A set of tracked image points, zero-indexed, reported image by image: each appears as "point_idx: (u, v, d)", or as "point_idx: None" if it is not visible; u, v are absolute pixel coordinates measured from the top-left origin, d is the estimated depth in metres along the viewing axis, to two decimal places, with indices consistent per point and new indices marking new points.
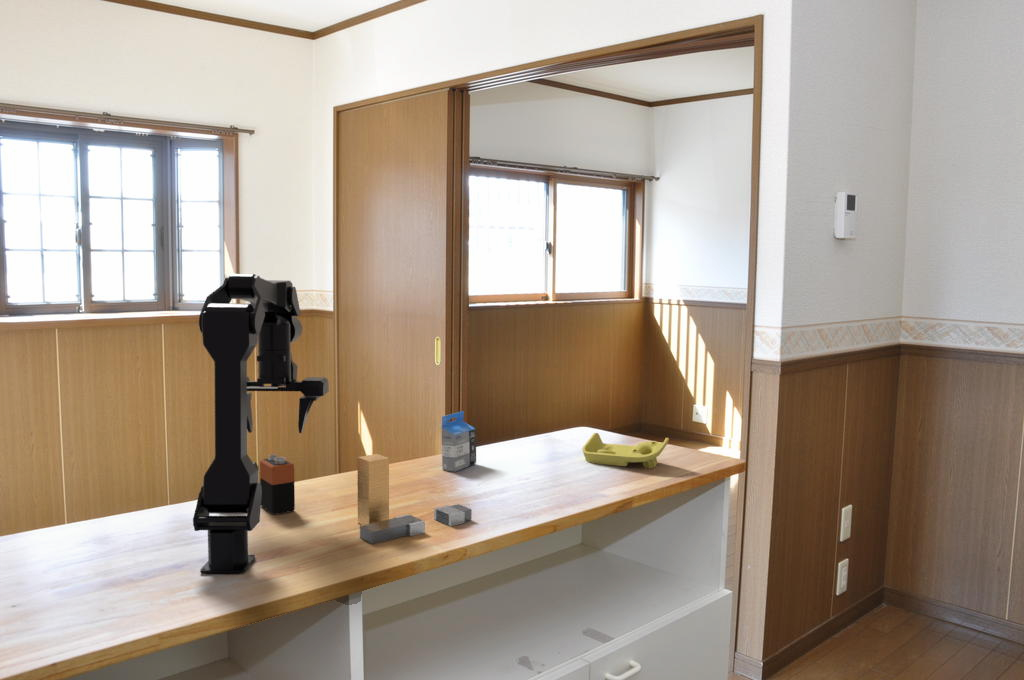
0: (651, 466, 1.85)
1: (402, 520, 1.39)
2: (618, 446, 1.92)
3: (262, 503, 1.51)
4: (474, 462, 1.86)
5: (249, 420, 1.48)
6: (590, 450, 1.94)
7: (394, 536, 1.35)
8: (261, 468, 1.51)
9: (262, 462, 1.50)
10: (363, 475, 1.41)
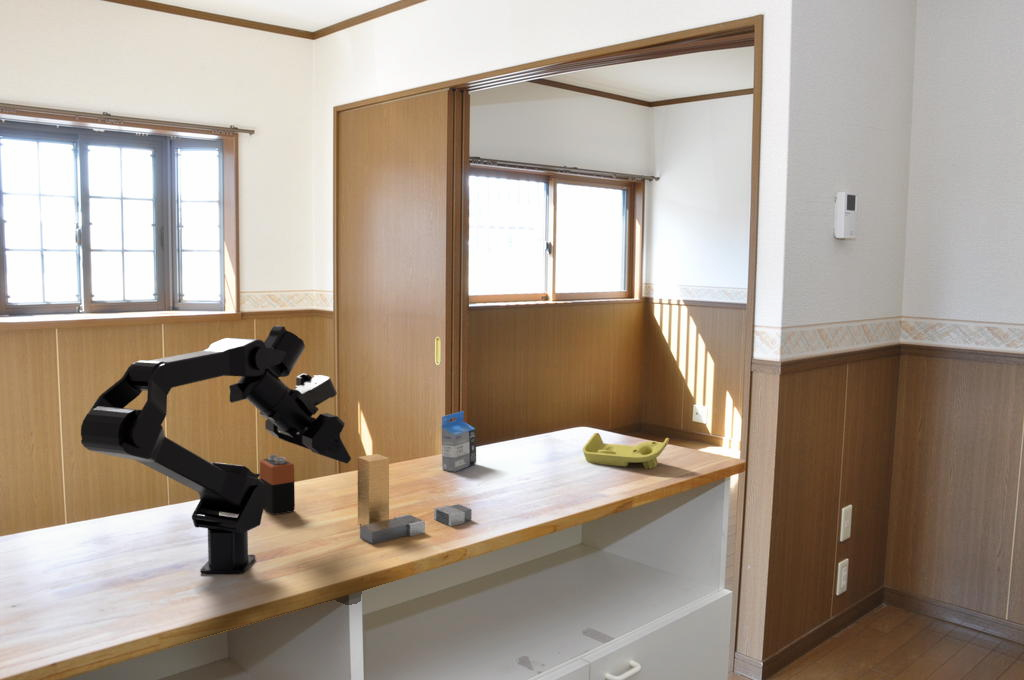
0: (651, 466, 1.85)
1: (402, 520, 1.39)
2: (618, 446, 1.92)
3: None
4: (474, 462, 1.86)
5: None
6: (590, 450, 1.93)
7: (394, 536, 1.35)
8: (261, 468, 1.51)
9: (262, 462, 1.50)
10: (363, 475, 1.41)
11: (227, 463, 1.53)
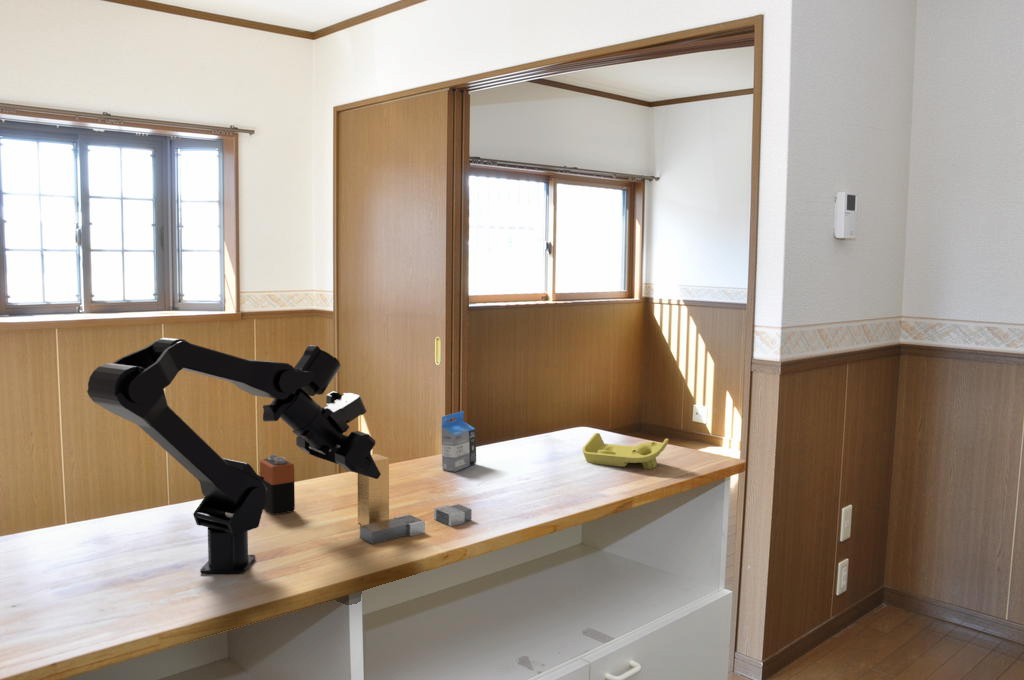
0: (650, 467, 1.84)
1: (402, 520, 1.39)
2: (618, 446, 1.92)
3: None
4: (474, 462, 1.86)
5: None
6: (591, 450, 1.93)
7: (394, 536, 1.35)
8: (261, 468, 1.51)
9: (262, 462, 1.50)
10: (363, 475, 1.41)
11: None
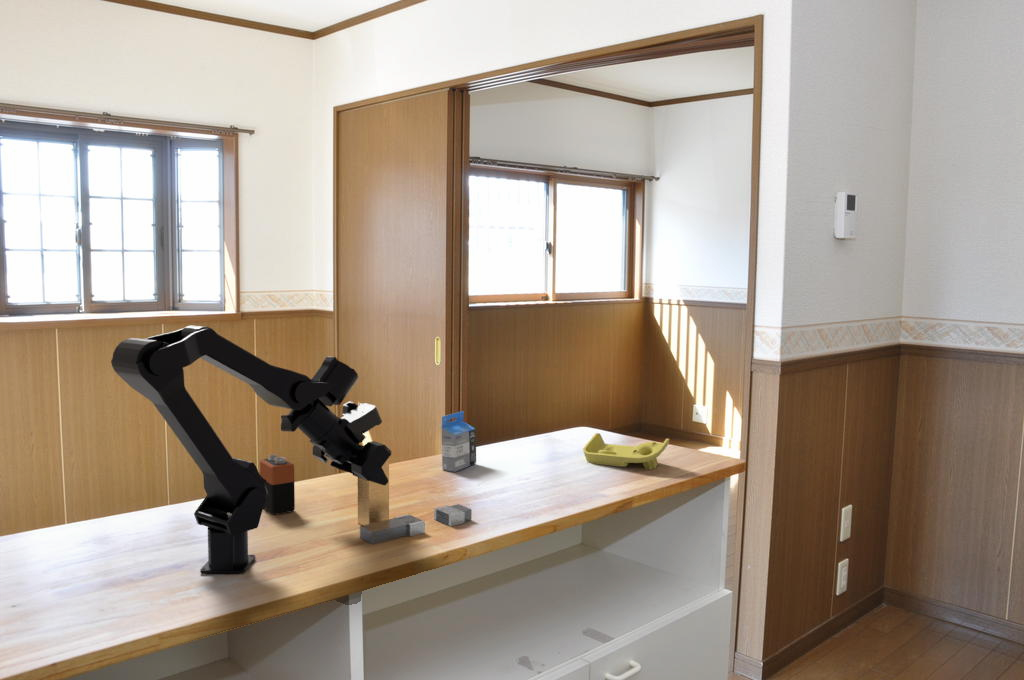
0: (651, 467, 1.84)
1: (402, 520, 1.39)
2: (619, 446, 1.92)
3: None
4: (474, 462, 1.86)
5: None
6: (591, 450, 1.93)
7: (394, 536, 1.35)
8: (261, 468, 1.51)
9: (262, 462, 1.50)
10: None
11: None
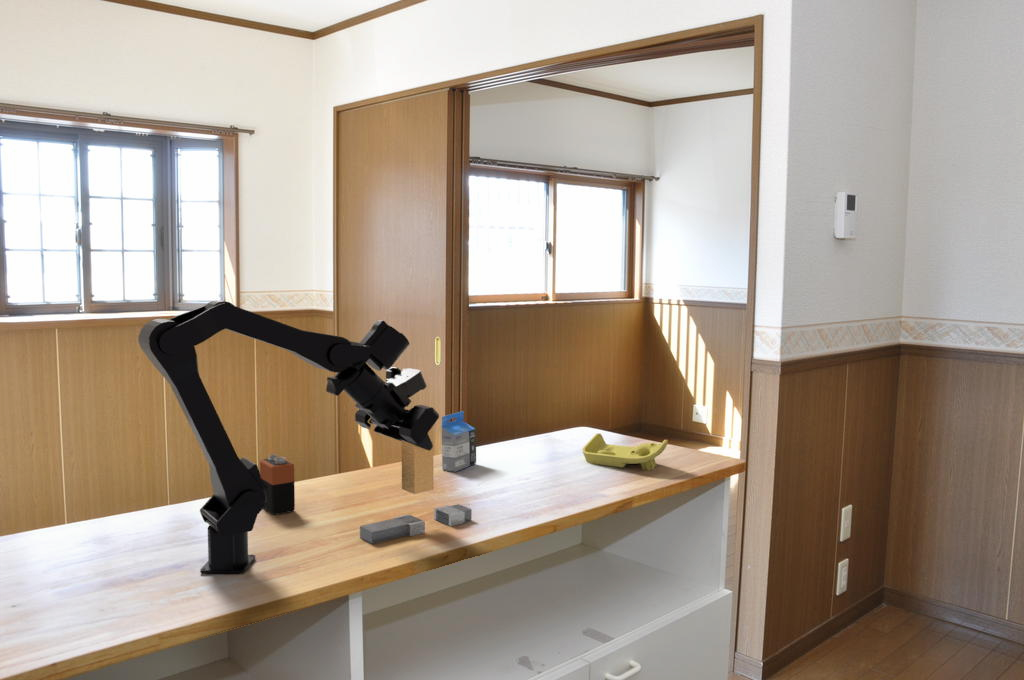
0: (649, 468, 1.83)
1: (402, 520, 1.39)
2: (619, 447, 1.91)
3: None
4: (474, 462, 1.86)
5: None
6: (591, 450, 1.93)
7: (394, 536, 1.35)
8: (261, 468, 1.51)
9: (262, 462, 1.50)
10: None
11: None
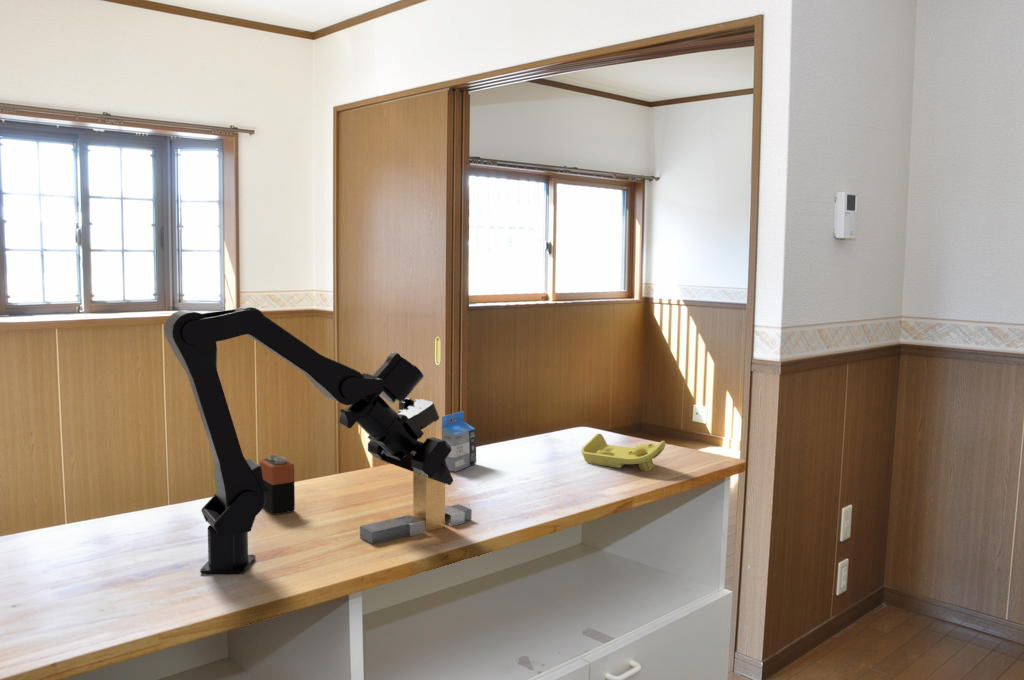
0: (646, 469, 1.82)
1: (402, 520, 1.39)
2: (618, 448, 1.90)
3: None
4: (474, 462, 1.86)
5: (411, 467, 1.44)
6: (591, 451, 1.93)
7: (394, 536, 1.35)
8: (261, 468, 1.51)
9: (262, 462, 1.50)
10: (420, 477, 1.40)
11: None
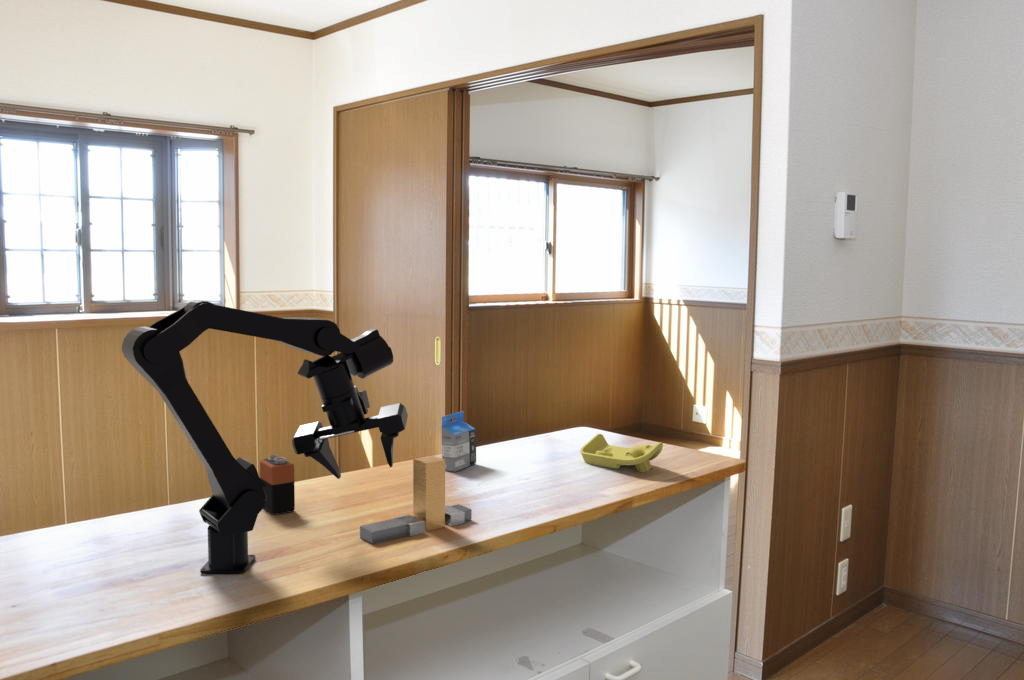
0: (643, 470, 1.81)
1: (402, 520, 1.39)
2: (618, 448, 1.90)
3: None
4: (474, 462, 1.86)
5: (334, 467, 1.36)
6: (591, 451, 1.93)
7: (394, 536, 1.35)
8: (261, 468, 1.51)
9: (262, 462, 1.50)
10: (420, 477, 1.40)
11: None
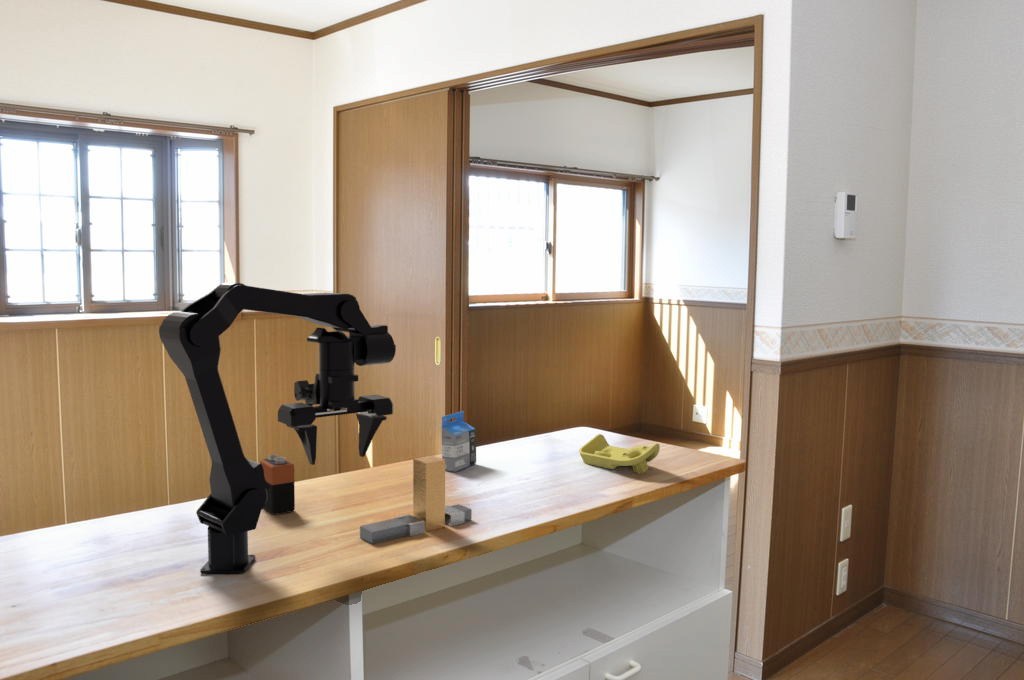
0: (640, 471, 1.80)
1: (402, 520, 1.39)
2: (617, 449, 1.89)
3: None
4: (474, 462, 1.86)
5: None
6: (590, 451, 1.92)
7: (394, 536, 1.35)
8: None
9: (262, 462, 1.50)
10: (420, 477, 1.40)
11: None
